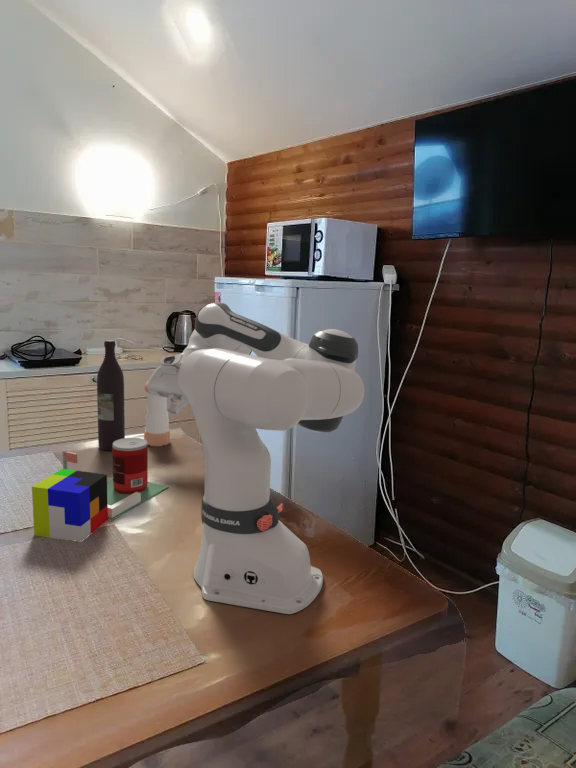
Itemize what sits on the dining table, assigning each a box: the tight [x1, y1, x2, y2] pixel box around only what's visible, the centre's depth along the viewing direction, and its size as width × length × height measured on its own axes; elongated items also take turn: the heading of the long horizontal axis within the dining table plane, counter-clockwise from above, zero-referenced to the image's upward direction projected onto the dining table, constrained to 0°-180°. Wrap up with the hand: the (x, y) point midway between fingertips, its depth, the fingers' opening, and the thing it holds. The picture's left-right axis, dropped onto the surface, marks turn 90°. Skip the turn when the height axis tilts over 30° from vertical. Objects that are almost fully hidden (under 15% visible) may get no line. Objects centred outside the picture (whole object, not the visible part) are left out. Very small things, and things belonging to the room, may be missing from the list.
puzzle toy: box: [31, 468, 109, 542], centre depth 117 cm, size 10×10×10 cm
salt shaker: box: [143, 381, 171, 447], centre depth 169 cm, size 7×7×19 cm
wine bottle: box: [96, 339, 126, 452], centre depth 162 cm, size 7×7×30 cm
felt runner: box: [107, 478, 169, 521], centre depth 133 cm, size 14×20×1 cm
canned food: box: [111, 437, 149, 494], centre depth 137 cm, size 8×8×11 cm
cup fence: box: [62, 449, 141, 518], centre depth 128 cm, size 13×9×12 cm
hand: (172, 412), depth 150 cm, fingers closed
